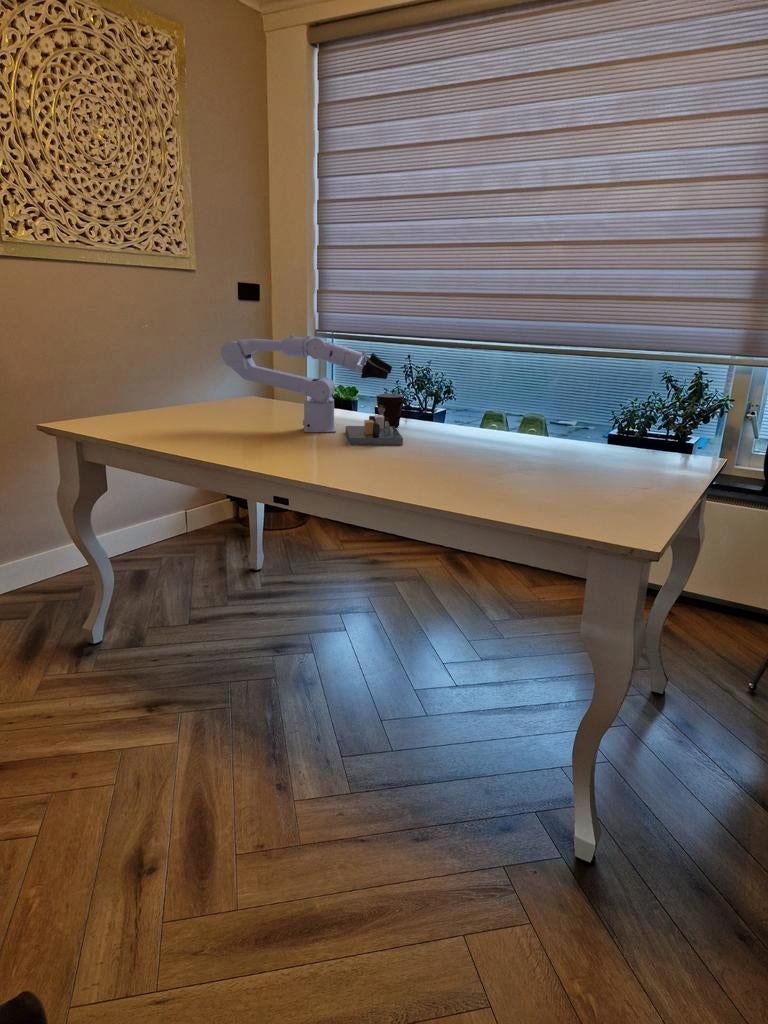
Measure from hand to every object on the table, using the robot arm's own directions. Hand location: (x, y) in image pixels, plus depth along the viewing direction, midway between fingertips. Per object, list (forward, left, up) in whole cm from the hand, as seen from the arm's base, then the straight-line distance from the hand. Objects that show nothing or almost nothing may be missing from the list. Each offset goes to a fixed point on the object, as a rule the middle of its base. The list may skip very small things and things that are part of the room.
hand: (389, 372), depth 197 cm
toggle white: (-3, -1, -16) cm, 16 cm away
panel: (-5, -7, -18) cm, 20 cm away
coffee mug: (+2, +11, -19) cm, 22 cm away
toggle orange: (-7, -10, -16) cm, 20 cm away
